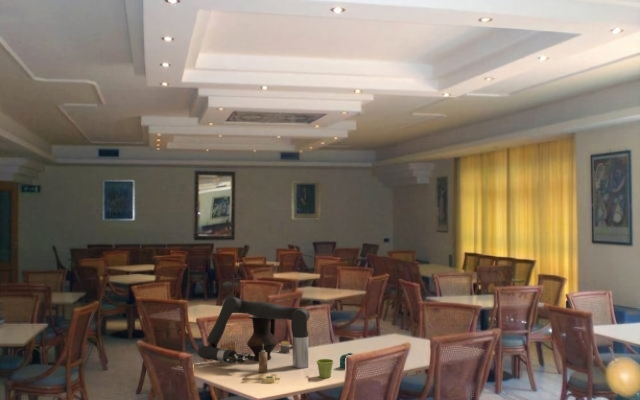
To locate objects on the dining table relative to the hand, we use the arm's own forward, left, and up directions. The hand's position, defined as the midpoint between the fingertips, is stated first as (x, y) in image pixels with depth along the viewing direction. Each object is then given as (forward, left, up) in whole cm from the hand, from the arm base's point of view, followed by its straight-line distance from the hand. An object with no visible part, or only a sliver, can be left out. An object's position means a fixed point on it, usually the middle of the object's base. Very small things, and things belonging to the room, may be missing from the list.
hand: (248, 359), depth 359 cm
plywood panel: (-9, +19, -7) cm, 22 cm away
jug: (-6, -32, -7) cm, 34 cm away
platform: (-18, -52, -8) cm, 55 cm away
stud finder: (-14, +24, -6) cm, 29 cm away
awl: (-9, +6, -7) cm, 13 cm away
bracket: (-61, -7, -7) cm, 62 cm away
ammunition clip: (+15, -27, -7) cm, 32 cm away
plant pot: (-43, +11, -7) cm, 45 cm away
